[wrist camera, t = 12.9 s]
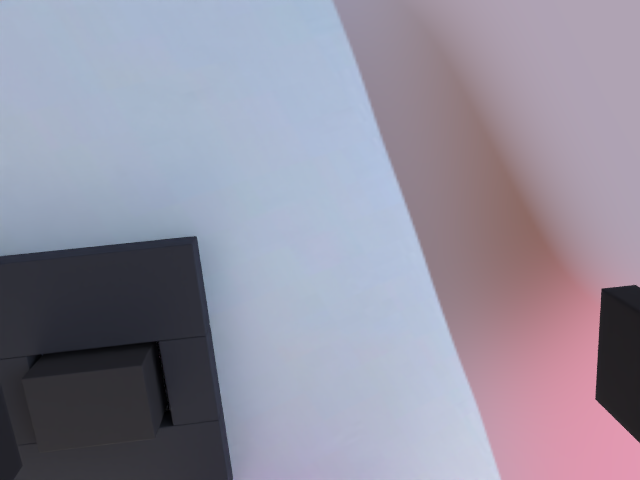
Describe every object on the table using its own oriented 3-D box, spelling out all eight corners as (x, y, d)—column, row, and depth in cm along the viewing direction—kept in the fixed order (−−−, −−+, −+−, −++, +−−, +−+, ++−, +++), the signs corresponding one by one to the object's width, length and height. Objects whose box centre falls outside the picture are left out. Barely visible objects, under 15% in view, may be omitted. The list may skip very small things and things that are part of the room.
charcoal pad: (-32, 259, 34) (-50, 269, 32) (196, 235, 35) (192, 244, 33) (33, 504, 39) (20, 525, 37) (232, 478, 39) (231, 497, 38)
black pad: (47, 348, 36) (20, 379, 32) (156, 336, 36) (142, 365, 32) (63, 416, 37) (38, 453, 33) (167, 404, 38) (155, 439, 34)
